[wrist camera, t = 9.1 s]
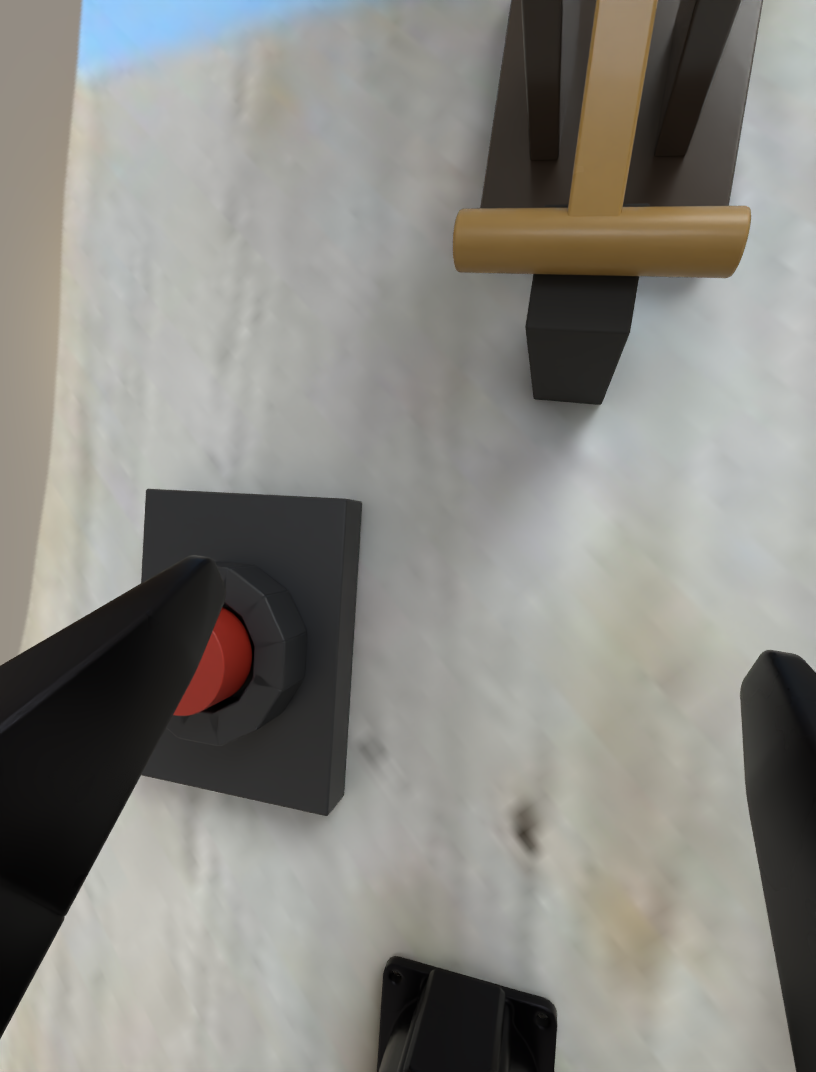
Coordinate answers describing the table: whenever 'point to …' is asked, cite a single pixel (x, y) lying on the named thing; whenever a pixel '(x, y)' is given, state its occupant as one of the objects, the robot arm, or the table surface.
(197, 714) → the dark grey square plate
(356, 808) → the table surface
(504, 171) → the bracket
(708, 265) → the lever
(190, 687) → the button
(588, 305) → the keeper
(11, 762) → the robot arm
